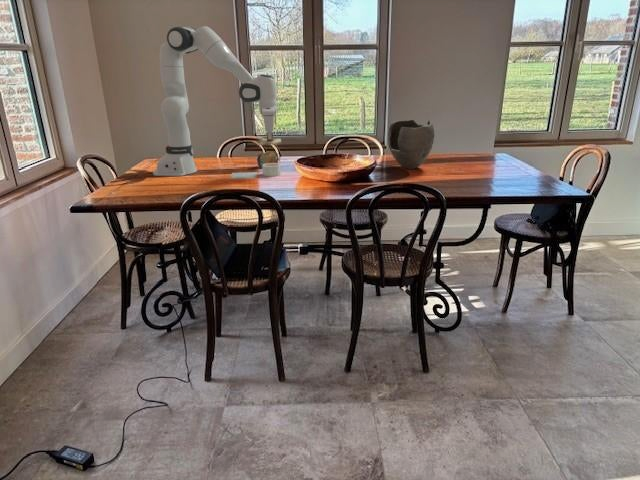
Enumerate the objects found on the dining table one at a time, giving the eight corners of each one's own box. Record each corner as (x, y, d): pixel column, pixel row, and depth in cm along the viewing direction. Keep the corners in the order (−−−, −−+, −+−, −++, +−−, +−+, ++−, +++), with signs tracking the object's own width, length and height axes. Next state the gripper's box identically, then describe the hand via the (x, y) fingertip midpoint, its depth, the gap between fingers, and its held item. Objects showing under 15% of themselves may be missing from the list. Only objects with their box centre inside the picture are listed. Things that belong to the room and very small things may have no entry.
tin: (260, 169, 251) (259, 154, 248) (256, 169, 253) (255, 153, 250) (279, 164, 262) (278, 150, 259) (275, 164, 264) (274, 149, 261)
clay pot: (429, 163, 260) (432, 118, 251) (434, 174, 238) (438, 124, 229) (386, 163, 262) (388, 118, 253) (387, 173, 240) (389, 124, 231)
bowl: (262, 177, 234) (262, 167, 232) (263, 173, 243) (262, 163, 241) (280, 177, 235) (280, 166, 233) (280, 172, 244) (279, 162, 242)
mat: (230, 179, 231) (230, 178, 231) (232, 173, 243) (232, 172, 243) (256, 178, 232) (256, 178, 232) (257, 172, 244) (257, 172, 244)
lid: (259, 145, 227) (258, 134, 225) (259, 141, 237) (258, 131, 236) (281, 144, 228) (281, 134, 226) (280, 140, 238) (280, 130, 237)
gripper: (262, 107, 236) (263, 135, 241) (261, 112, 217) (263, 141, 222) (274, 107, 237) (275, 134, 242) (275, 111, 218) (276, 141, 223)
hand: (269, 138), depth 232 cm, fingers closed on lid, 3 cm apart
